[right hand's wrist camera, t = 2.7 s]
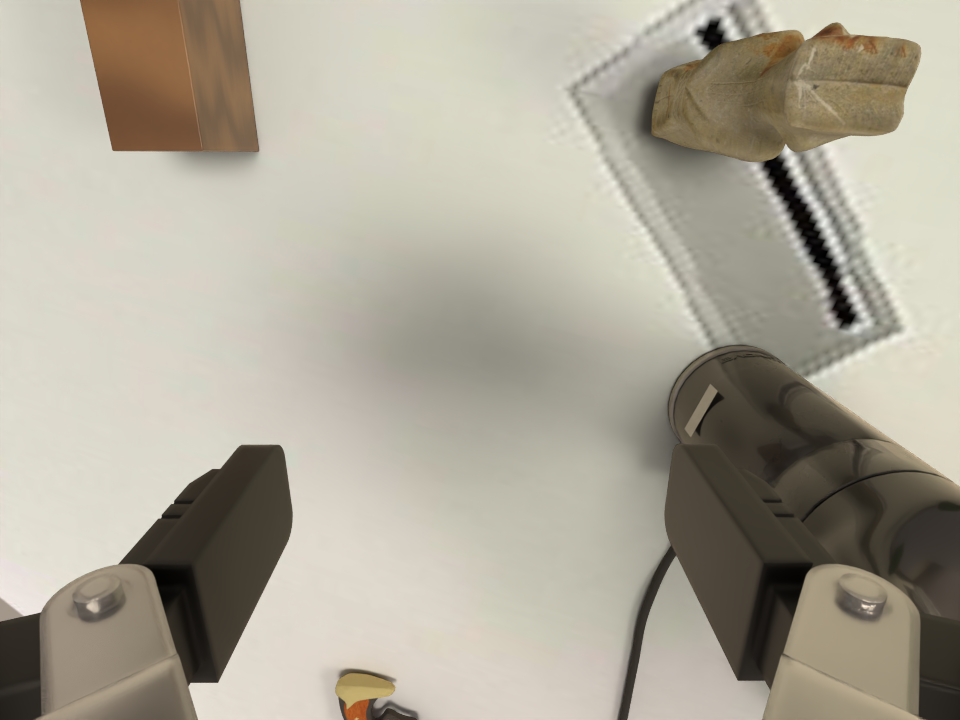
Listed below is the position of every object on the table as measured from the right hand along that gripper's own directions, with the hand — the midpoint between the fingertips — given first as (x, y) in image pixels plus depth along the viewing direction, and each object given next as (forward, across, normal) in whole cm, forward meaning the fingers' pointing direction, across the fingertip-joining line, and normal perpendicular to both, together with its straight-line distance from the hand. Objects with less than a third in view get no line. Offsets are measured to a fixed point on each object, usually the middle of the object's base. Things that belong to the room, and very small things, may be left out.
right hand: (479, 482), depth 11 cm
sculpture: (+29, +14, +9) cm, 33 cm away
